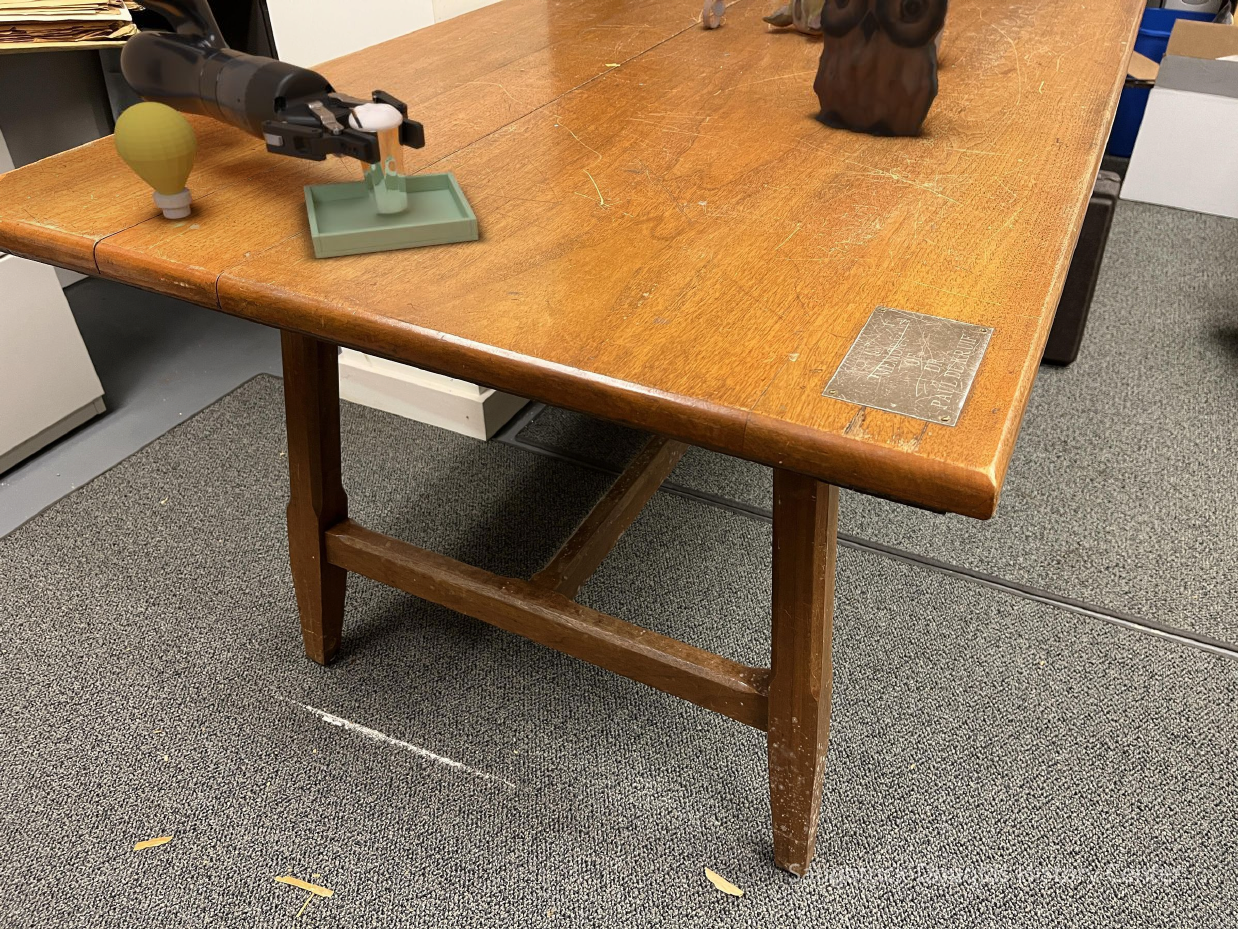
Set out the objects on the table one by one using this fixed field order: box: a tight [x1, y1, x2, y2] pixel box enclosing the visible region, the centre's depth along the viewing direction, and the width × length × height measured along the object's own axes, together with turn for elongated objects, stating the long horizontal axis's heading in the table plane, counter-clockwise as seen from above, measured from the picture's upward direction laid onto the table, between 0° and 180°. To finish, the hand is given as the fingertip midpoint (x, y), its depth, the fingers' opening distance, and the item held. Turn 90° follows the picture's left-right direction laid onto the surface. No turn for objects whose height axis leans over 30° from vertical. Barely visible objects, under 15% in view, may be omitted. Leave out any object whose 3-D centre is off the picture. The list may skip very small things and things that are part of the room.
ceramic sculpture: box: [762, 0, 825, 36], centre depth 146 cm, size 11×9×15 cm
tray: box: [302, 171, 479, 260], centre depth 84 cm, size 14×12×2 cm
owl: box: [812, 0, 949, 137], centre depth 105 cm, size 13×13×20 cm
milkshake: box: [349, 103, 407, 214], centre depth 80 cm, size 4×5×10 cm
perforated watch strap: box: [701, 0, 727, 29], centre depth 148 cm, size 3×5×5 cm, turn 148°
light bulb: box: [113, 101, 198, 220], centre depth 82 cm, size 7×7×10 cm
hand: (399, 143), depth 78 cm, fingers closed on milkshake, 4 cm apart
